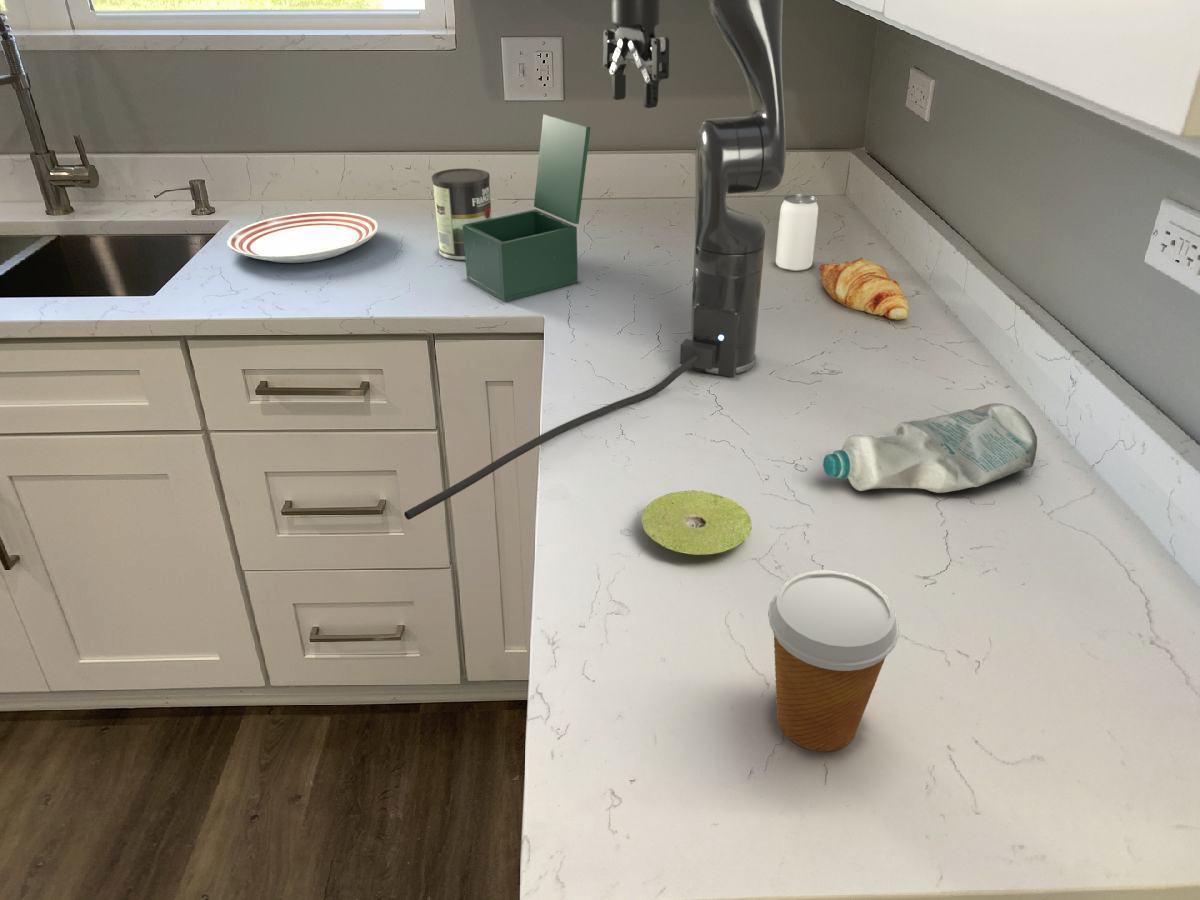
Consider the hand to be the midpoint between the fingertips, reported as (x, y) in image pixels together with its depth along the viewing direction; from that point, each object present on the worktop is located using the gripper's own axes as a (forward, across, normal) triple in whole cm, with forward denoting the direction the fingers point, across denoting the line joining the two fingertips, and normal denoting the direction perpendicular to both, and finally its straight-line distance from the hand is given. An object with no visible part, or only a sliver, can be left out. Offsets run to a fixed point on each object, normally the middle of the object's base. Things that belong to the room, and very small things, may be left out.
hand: (634, 103), depth 149 cm
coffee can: (+28, -26, -19) cm, 43 cm away
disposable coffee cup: (+28, +92, -52) cm, 109 cm away
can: (+28, +16, +24) cm, 40 cm away
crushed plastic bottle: (+28, +74, -15) cm, 80 cm away
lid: (+10, -6, -11) cm, 16 cm away
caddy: (+28, -6, -19) cm, 34 cm away
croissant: (+28, +34, +20) cm, 49 cm away
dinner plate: (+28, -46, -42) cm, 69 cm away
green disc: (+28, +67, -43) cm, 85 cm away
